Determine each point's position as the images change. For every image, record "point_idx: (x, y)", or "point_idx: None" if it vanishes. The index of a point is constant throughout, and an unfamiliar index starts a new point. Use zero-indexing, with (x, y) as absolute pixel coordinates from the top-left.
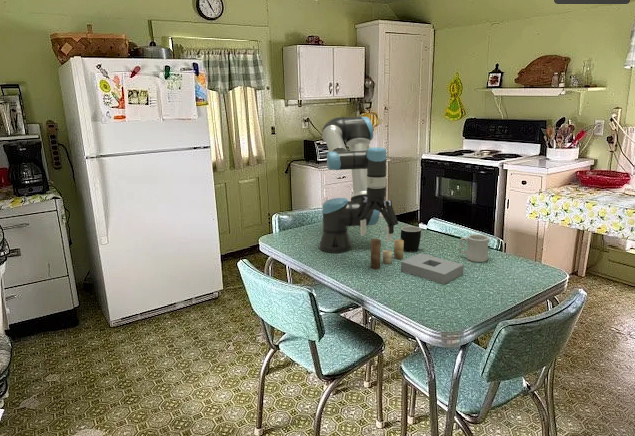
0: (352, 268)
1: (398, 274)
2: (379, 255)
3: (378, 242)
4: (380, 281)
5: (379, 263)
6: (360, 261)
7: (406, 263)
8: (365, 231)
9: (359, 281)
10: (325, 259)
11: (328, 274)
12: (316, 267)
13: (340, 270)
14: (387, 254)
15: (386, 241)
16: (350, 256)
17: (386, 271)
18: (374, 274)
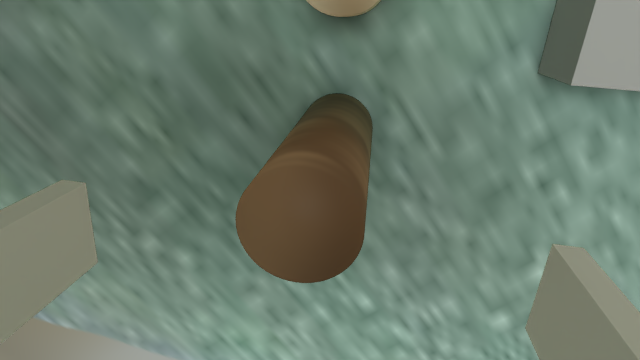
0: (233, 226)
1: (549, 144)
2: (369, 164)
3: (360, 245)
4: (491, 299)
5: (371, 139)
6: (181, 91)
7: (636, 90)
8: (54, 216)
9: (387, 350)
10: (11, 197)
11: (201, 353)
12: (86, 314)
13: (205, 284)
14: (369, 8)
15: (528, 331)
16: (58, 49)
17: (443, 145)
18: (402, 232)
